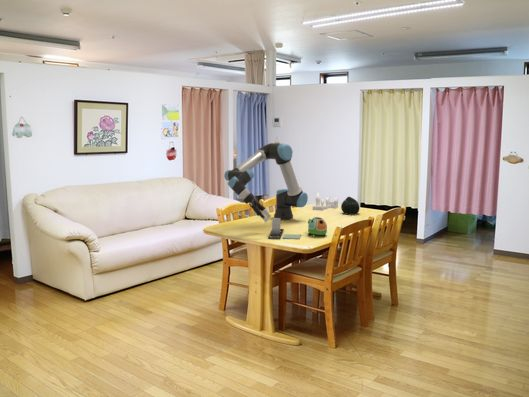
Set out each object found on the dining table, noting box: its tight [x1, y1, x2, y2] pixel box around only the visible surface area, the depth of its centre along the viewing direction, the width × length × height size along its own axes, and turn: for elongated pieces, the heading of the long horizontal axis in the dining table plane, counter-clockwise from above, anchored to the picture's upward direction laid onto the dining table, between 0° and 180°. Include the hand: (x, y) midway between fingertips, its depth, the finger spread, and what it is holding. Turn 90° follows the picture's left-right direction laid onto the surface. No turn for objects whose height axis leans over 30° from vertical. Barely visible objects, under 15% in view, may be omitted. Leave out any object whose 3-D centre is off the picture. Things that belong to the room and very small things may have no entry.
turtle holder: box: [307, 216, 328, 238], centre depth 331 cm, size 12×18×12 cm
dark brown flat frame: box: [267, 228, 285, 240], centre depth 331 cm, size 26×8×1 cm, turn 173°
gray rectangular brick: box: [271, 217, 281, 234], centre depth 330 cm, size 5×5×11 cm
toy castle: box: [312, 191, 339, 212], centre depth 432 cm, size 14×25×16 cm, turn 145°
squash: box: [340, 196, 360, 215], centre depth 409 cm, size 14×15×15 cm
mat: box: [282, 233, 302, 240], centre depth 324 cm, size 11×11×1 cm
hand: (268, 219), depth 329 cm, fingers open, 13 cm apart
